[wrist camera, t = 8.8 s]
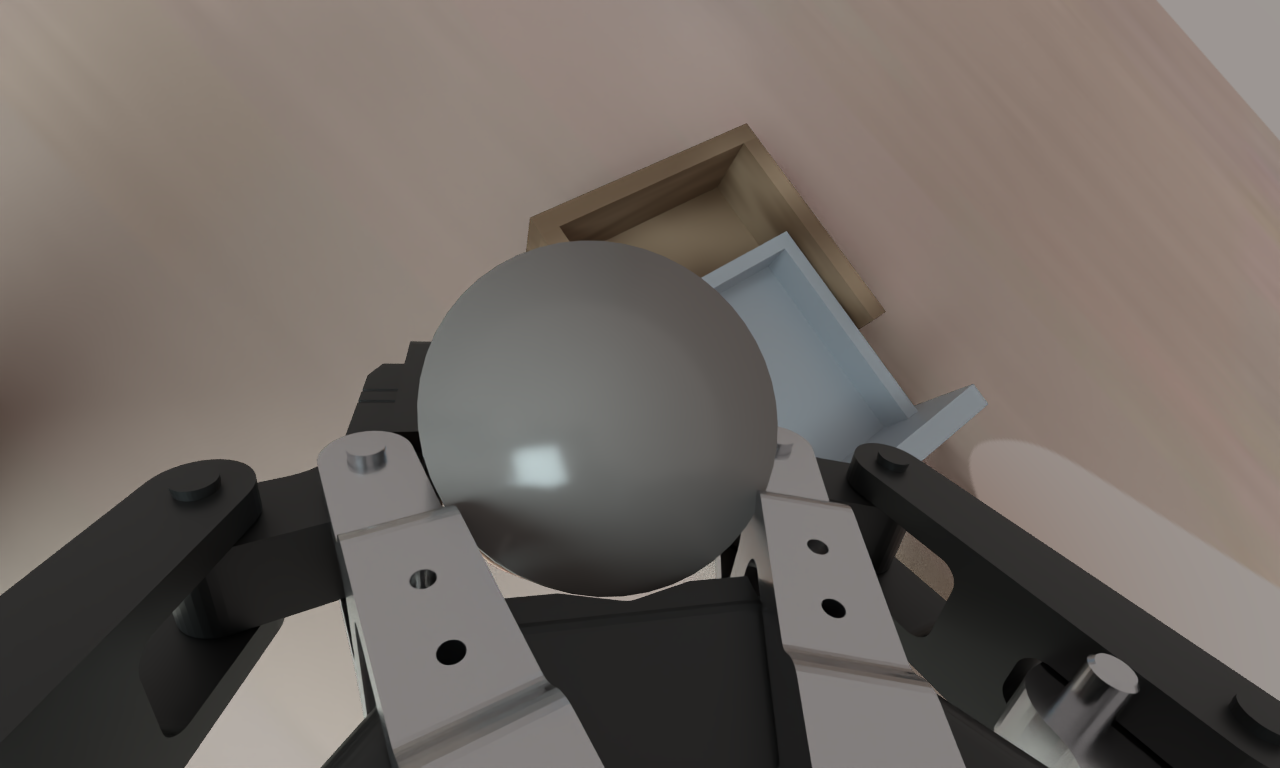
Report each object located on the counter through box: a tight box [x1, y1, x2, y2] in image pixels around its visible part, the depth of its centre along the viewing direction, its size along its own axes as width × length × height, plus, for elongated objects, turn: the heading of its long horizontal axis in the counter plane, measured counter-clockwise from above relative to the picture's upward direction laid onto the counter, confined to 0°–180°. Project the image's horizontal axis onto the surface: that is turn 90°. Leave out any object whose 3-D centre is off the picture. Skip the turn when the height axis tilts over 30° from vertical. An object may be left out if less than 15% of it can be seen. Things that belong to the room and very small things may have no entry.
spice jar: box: [417, 241, 778, 597], centre depth 12 cm, size 5×5×10 cm
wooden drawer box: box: [526, 123, 886, 330], centre depth 31 cm, size 13×14×5 cm
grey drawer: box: [702, 231, 988, 463], centre depth 29 cm, size 15×14×6 cm
